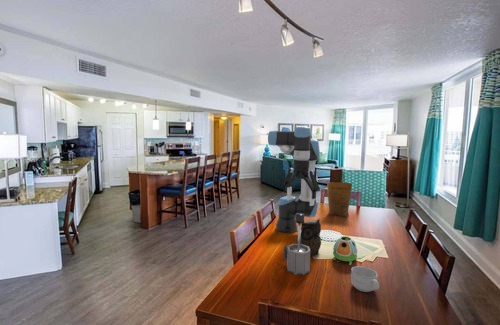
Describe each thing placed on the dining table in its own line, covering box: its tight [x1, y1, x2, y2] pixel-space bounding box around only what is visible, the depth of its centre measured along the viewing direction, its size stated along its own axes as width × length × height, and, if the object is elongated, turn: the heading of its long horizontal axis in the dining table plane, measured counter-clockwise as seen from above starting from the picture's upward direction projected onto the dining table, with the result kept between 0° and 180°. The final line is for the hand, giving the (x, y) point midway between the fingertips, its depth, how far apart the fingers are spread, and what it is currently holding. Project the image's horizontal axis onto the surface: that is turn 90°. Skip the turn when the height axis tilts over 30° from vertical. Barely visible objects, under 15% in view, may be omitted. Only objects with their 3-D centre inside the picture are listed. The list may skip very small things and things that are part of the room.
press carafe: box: [283, 243, 311, 276], centre depth 138 cm, size 14×11×11 cm
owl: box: [300, 218, 322, 258], centre depth 154 cm, size 13×13×20 cm
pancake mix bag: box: [326, 181, 353, 217], centre depth 226 cm, size 7×19×28 cm, turn 63°
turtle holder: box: [332, 235, 358, 266], centre depth 150 cm, size 12×18×12 cm
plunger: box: [291, 213, 306, 252], centre depth 136 cm, size 8×8×19 cm
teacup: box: [350, 265, 380, 293], centre depth 120 cm, size 14×11×8 cm
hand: (300, 202), depth 134 cm, fingers open, 13 cm apart
